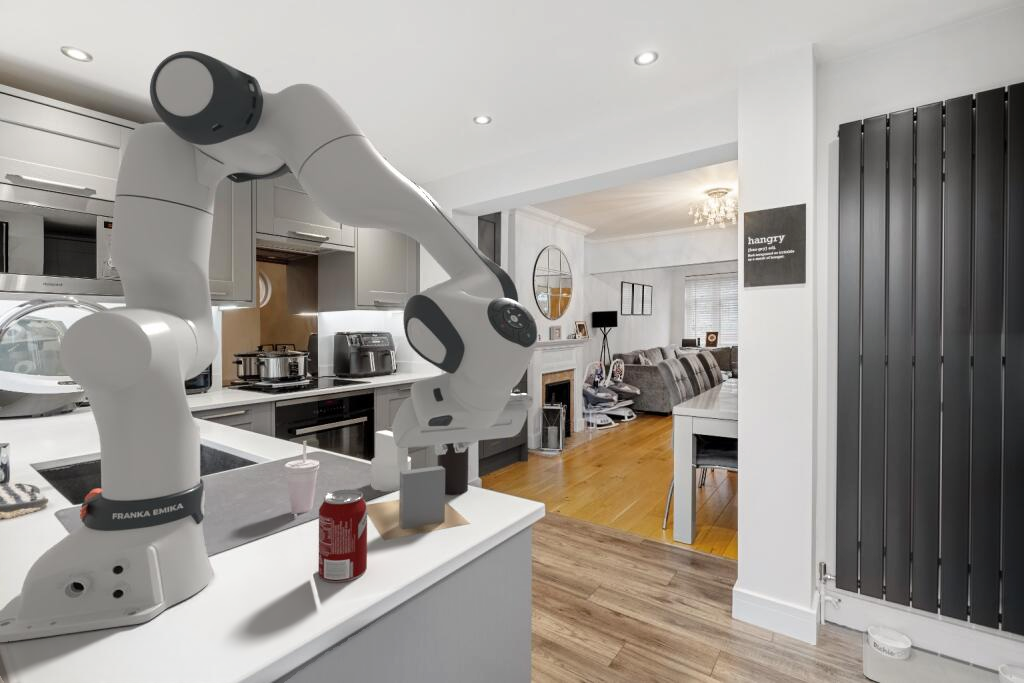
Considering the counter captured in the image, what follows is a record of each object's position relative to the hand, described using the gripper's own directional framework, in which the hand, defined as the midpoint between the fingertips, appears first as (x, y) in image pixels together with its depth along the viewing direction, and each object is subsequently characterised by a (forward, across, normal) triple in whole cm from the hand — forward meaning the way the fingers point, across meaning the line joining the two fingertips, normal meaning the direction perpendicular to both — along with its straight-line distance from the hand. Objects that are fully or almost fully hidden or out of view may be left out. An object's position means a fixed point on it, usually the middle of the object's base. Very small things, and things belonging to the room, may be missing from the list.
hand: (448, 449), depth 79 cm
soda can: (+13, +16, +12) cm, 24 cm away
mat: (+25, 0, -1) cm, 25 cm away
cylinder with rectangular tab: (+40, -1, -15) cm, 43 cm away
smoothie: (+34, +19, -9) cm, 40 cm away
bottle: (+32, -12, -8) cm, 36 cm away
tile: (+21, 0, +2) cm, 21 cm away
